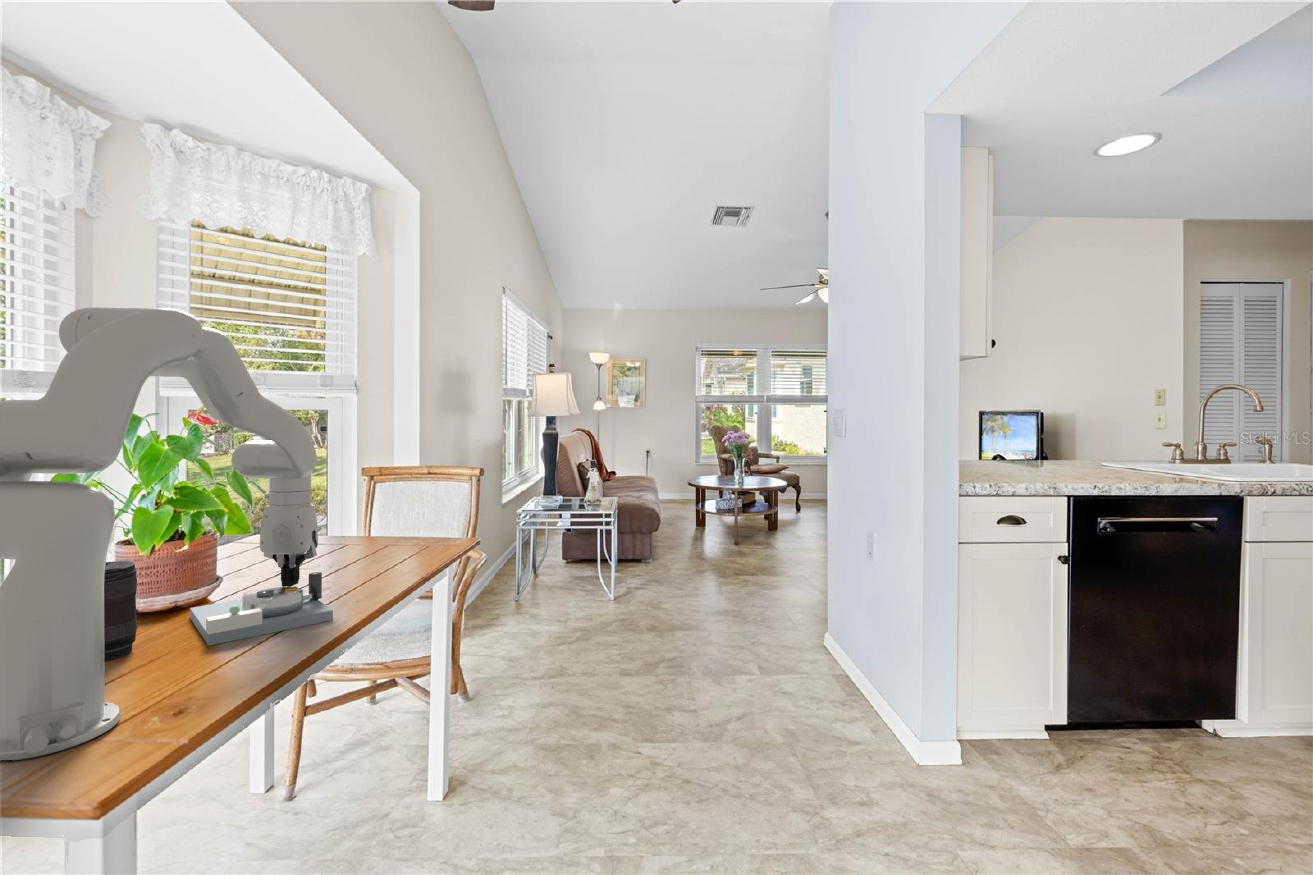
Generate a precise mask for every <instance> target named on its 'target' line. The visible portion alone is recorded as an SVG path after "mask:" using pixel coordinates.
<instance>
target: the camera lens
mask: <svg viewBox="0 0 1313 875" xmlns="http://www.w3.org/2000/svg"><path fill="white" fill-rule="evenodd" d="M137 570H138V569H137V568H136V563H135V562H133V561H130V560H129V561H127V560H116V561H114V560H113V561H106V563H105V574H104V662H106V661H111V660H116V659H120V658H122V657H125V656H127V655H129V654H130V653H131V652H132V651H133V644H134V643H135V642H136V639H137V638H136V637H137V636H136V635H137V632H138V622H137V621H138V620H137V610H136V593H137Z"/></svg>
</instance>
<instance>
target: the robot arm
mask: <svg viewBox="0 0 1313 875" xmlns="http://www.w3.org/2000/svg"><path fill="white" fill-rule="evenodd" d="M58 338H59V341H60V344H61V346H62V347H63V349H64V350H65V351H66V354H65V355H64V356H63V358H62V360H61V361H60V363H59V366H58V368H57V370H56V373H55V374H54V376H53V378H52V380H51V383H50V384H49V386H48V389H47V390H46V393H45V394H44V396H43V397H41V398H38V399H5V400H0V560H13V561H14V564H13V566H12V567H11V570H10V571H9V572H8V574H6V577H5V578H4V580H3V581H2V583H1V585H0V760H12V761H19V760H27V759H32V758H37V757H41V756H46V755H50V754H53V753H57V752H60V751H64V750H67V749H70V748H73V747H76V746H78V745H81V744H84V743H85V742H88V741H91V740H93V739H95V738H97V737H99V736H101V735H103V734H105V733H107V732H108V731H109V730H111V729H112V728H113V727H115V725H117V724H118V723H119V721H120V719H121V716H122V715H121V708H120V706H118V705H117V704H115V703H111V702H107V701H106V702H105V661H104V574H105V563H106V562H107V557H108V556H107V555H108V551H109V547H110V546H109V545H110V542H111V539H112V535H113V530H114V527H115V518H116V511H115V507H114V505H113V502H112V501H111V499H110V498H109V497H108V496H107V495H106V494H105V493H104V492H102V491H101V490H99V489H98V488H96V487H94V486H91V485H88V484H85V483H79V482H71V481H58V480H57V481H55V480H53V481H51V480H50V481H49V480H43V481H42V480H30V479H31V476H32V475H33V474H67V475H68V474H88V473H96V472H100V471H103V470H106V469H108V468H109V467H110V466H112V465H113V464H114V463H115V462H116V460H117V458H118V457H119V454H120V451H121V450H122V447H123V445H124V442H125V437H126V435H127V433H128V428H129V425H130V422H131V419H132V416H133V413H134V410H135V407H136V404H137V400H138V398H139V396H140V392H141V390H142V388H143V386H144V384H145V383H146V381H147V380H148V379H149V378H150V377H167V378H170V377H176V378H177V377H179V378H183V379H185V380H186V381H187V383H189V385H190V386H191V388H192V390H193V391H194V393H195V394H196V395H197V397H198V399H199V400H200V402H201V404H202V405H203V406H204V407H205V410H206V411H207V413H208V414H209V415H210V417H212V418H213V419H214V420H216V421H218V422H219V423H223V424H225V425H228V426H230V427H233V428H235V429H239V430H242V431H246V432H248V433H249V432H250V433H252V434H255V435H258V436H261V437H263V438H265V439H267V440H248V441H245V442H243V443H241V444H239V445H238V446H237V447H235V449H234V451H232V452H233V453H232V454H231V465H232V467H233V470H234V471H235V472H236V473H237V474H239V475H241V476H242V477H244V478H245V477H246V478H248V479H269V480H268V482H269V486H268V487H269V489H268V492H265V493H264V496H263V497H264V499H265V500H268V503H269V505H265V506H264V510H263V512H262V518H261V522H260V533H259V550H260V552H261V553H262V554H263V556H264V557H265V558H268V559H272V560H274V562H276V563H277V567H278V568H279V569H280V581H281V587H294V586H296V585H298V584H299V581H300V577H301V576H300V567H301V565H302V564H303V563H304V561H305V560H308V559H313V558H316V557H317V556H318V552H317V549H318V546H319V545H318V544H319V526H318V518H317V514H316V509H315V505H314V504H312V473H313V472H314V471H315V469H316V467H317V464H318V463H317V461H318V456H317V451H316V448H315V445H314V442H313V440H312V439H311V437H310V435H309V432H308V431H307V429H306V427H305V426H304V425H303V423H302V422H301V421H300V420H299V419H298V418H297V417H295V416H294V415H293V414H291V413H290V412H288V411H287V410H286V409H284V408H282V407H281V406H280V405H278V404H277V403H275V402H274V401H272V400H270V399H269V398H267V397H265V396H264V395H262V394H261V393H260V391H259V389H258V388H257V385H256V384H255V382H254V380H253V379H252V377H251V374H250V373H249V371H248V369H247V366H245V364H244V362H243V360H242V358H241V356H240V355H239V353H238V351H237V349H236V347H235V346H234V344H233V342H232V340H231V339H230V338H229V337H228V336H227V335H226V333H224V332H222V331H220V330H219V329H216V328H211V327H203V325H202V324H201V321H199V320H198V319H197V318H196V317H195V316H194V315H192V314H190V313H188V312H186V311H184V310H180V309H176V308H171V307H168V308H167V307H166V308H165V307H162V308H161V307H160V308H155V307H154V308H153V307H152V308H151V307H150V308H149V307H126V308H125V307H84V308H78V309H76V310H73V311H70V313H68V314H67V315H66V316H64V317H63V319H62V320H61V322H60V324H59V329H58ZM234 468H237V469H234Z"/></svg>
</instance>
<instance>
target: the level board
mask: <svg viewBox="0 0 1313 875" xmlns="http://www.w3.org/2000/svg"><path fill="white" fill-rule="evenodd" d="M301 589H302V588H301ZM302 590H303V594H306V593H309V591H306V590H305V589H302ZM333 618H334V610H333V609H332V608H331V607H329V606H328V605H326V604H325V603H323V601H320V599H317V600H309V599H308V600H304V601H303V606H302V607H301V608H300V609H298V610H296V611H294V612H290V613H287V614H283V615H277V616H270V617H262V610H260V609H259V608H257V609H252V610H246V611H242V599H237V600H230V601H224V602H218V603H213V604H212V603H211V604H207V605H200V606H193V607H189V619H190V620H191V622H192V623H193V625H194V626H195V627H196V629H197V631H198V632H199V634H200V635H201V636H202V638H203V640H204V641H205V643H206V644H207V646H212V645H219V644H222V643H228V642H233V641H236V640H237V641H238V640H243V639H246V638H247V639H248V638H253V637H257V636H261V635H267V634H272V633H277V632H282V631H285V630H290V629H295V628H296V629H297V628H300V627H305V626H310V625H316V624H320V623H326V622H330V621H333V620H334V619H333Z"/></svg>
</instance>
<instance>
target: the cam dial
mask: <svg viewBox="0 0 1313 875" xmlns="http://www.w3.org/2000/svg"><path fill="white" fill-rule="evenodd" d="M241 598H242V611H246V610H252V609H257V608H259V609H260V610H262V617H270V616H277V615H283V614H287V613H290V612H294V611H296V610H298V609H300V608H301V607H302V606H303V601H304V600H308V599H309V600H317V599H318V600H320V599H322V598H323V573H322V572H321V571H319V572H318V571H317V572H310V573H308V593H306V594H303V590H302V588H299V587H298V586H296V585H293V586H291V587H287V586H286V587H282V586H280V587H278V586H277V587H268V588H264V589H258V590H254V591H252V592H248V593H246V594H244V595H243V596H241Z"/></svg>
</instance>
